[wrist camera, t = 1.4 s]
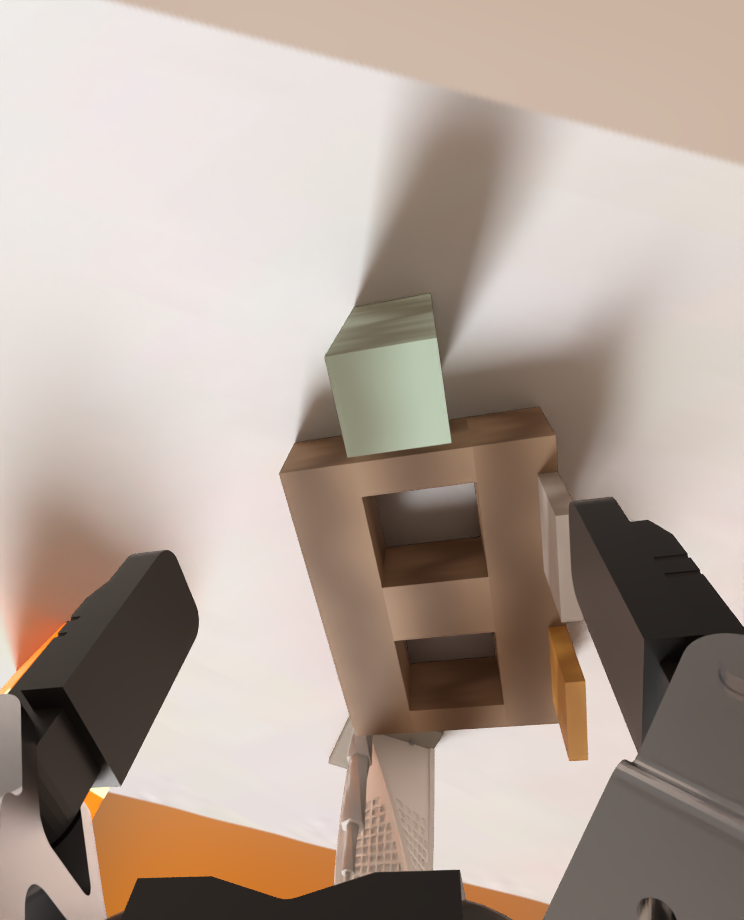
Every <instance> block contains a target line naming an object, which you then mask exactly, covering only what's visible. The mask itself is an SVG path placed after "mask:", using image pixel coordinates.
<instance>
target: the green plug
mask: <svg viewBox="0 0 744 920" xmlns="http://www.w3.org/2000/svg"><path fill="white" fill-rule="evenodd" d="M325 362H326V366H327V370H328V375H329V379H330V383H331V388H332V392H333V396H334V401H335V405H336V409H337V414H338V418H339V423H340V427H341V431H342V436H343V440H344V444H345V449H346V453H347V457H348V458H349V457H356V456H363V455H370V454H377V453H384V452H391V451H398V450H405V449H412V448H419V447H426V446H434V445H441V444H448V443H451V436H450V428H449V421H448V414H447V407H446V400H445V393H444V385H443V378H442V371H441V364H440V357H439V350H438V343H437V335H436V329H435V322H434V315H433V308H432V301H431V294H430V293H429V294H423V295H418V296H412V297H407V298H401V299H396V300H390V301H385V302H379V303H374V304H369V305H363V306H358V307H354V308H353V310H352V311H351V313H350V315H349V316H348V318H347V320H346V321H345V323H344V325H343V326H342V328H341V330H340V331H339V333H338V335H337V337H336V338H335V340H334V342H333V343H332V345H331V347H330V348H329V350H328V352H327V353H326V355H325Z"/></svg>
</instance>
